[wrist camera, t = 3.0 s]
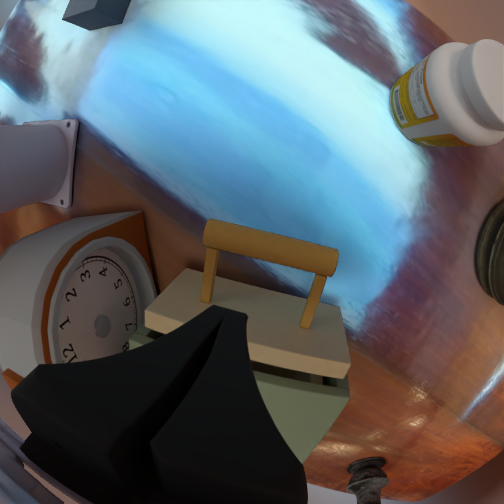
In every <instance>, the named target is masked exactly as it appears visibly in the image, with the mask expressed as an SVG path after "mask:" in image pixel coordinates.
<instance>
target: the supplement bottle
mask: <svg viewBox="0 0 504 504" xmlns="http://www.w3.org/2000/svg"><path fill="white" fill-rule="evenodd" d="M389 103H390V110H391V114H392V117H393V119H394V121H395V123H396V125H397V127H398V128H399V129H400V131H401V132H402V133H403V134H404V135H405V136H406V137H407V138H409V139H410V140H411V141H413V142H415V143H417V144H419V145H422V146H426V147H451V146H490V145H494V144H496V143H498V142H500V141H501V140H502V139H503V138H504V45H502V44H500V43H499V42H496V41H494V40H490V39H483V40H480V41H478V42H476V43H474V44H471V45H468V44H464V43H460V42H452V43H447V44H444V45H442V46H440V47H439V48H437V49H436V50H434V51H433V52H432V53H431V54H429V55H428V56H427V57H425V58H424V59H423V60H422V61H420V62H419V63H418V64H416V65H415V66H414V67H413V68H411V69H410V70H409V71H407V72H406V73H405V74H403V75H402V76H401V77H400V78H399V79H398V80H397V81H396V82H395V83H394V85H393V87H392V89H391V92H390V102H389Z"/></svg>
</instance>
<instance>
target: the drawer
mask: <svg viewBox="0 0 504 504" xmlns="http://www.w3.org/2000/svg"><path fill="white" fill-rule="evenodd" d="M203 244H204V245H205V246H208V247H207V252H206V259H205V266H204V273H203V272H199V271H196V270H192V269H189V268H186V269H185V270H184V271H183V272H182V273H181V274H180V275H179V276H178V277H177V278H176V279H175V280H174V281H173V282H172V283H171V284H170V285H169V286H168V287H167V288H166V289H165V290H164V291H163V292H162V293H161V294H160V295H159V296H158V297H157V298H156V299H155V300H154V301H153V302H152V303H151V304H150V305H149V306H148V307H147V308H146V309H145V327H147V328H150V329H152V330H155V331H158V332H161V333H164V334H167V333H169V332H171V331H173V330H175V329H176V328H178V327H180V326H181V325H183V324H184V323H186V322H188V321H189V320H191V319H192V318H194V317H195V316H197V315H198V314H200V313H201V312H203V311H204V310H206V309H207V308H208V307H210V306H212V305H213V304H214V305H217V306H221V307H224V308H228V309H232V310H235V311H239V312H243V313H246V314H247V315H248V321H247V343H248V350H249V356H250V361H251V365H252V369H253V370H254V371H258V372H262V373H267V374H271V375H275V376H280V377H284V378H289V379H294V380H299V381H304V382H309V383H314V384H320V385H323V379H322V376H327V377H333V378H339V379H343V378H344V377H345V375H346V373H347V371H348V369H349V368H350V366H351V360H350V354H349V349H348V344H347V339H346V334H345V329H344V324H343V319H342V314H341V310H340V307H339V306H334V305H330V304H326V303H321V302H319V300H320V297H321V294H322V291H323V288H324V285H325V282H326V279H327V276H329V277H332V276H333V274H334V272H335V270H336V267H337V263H338V257H339V252H338V250H337V249H334V248H330V247H326V246H322V245H319V244H315V243H311V242H307V241H303V240H299V239H295V238H291V237H287V236H283V235H279V234H275V233H270V232H266V231H262V230H258V229H254V228H250V227H246V226H241V225H237V224H233V223H229V222H224V221H220V220H216V219H209V220H208V222H207V224H206V226H205V229H204V233H203ZM220 250H224V251H228V252H232V253H236V254H240V255H244V256H248V257H252V258H256V259H260V260H264V261H268V262H272V263H276V264H280V265H284V266H288V267H292V268H296V269H300V270H304V271H308V272H312V273H315V277H314V280H313V283H312V286H311V289H310V292H309V295H308V298H307V299H304V298H300V297H296V296H292V295H288V294H284V293H280V292H276V291H272V290H268V289H264V288H260V287H256V286H252V285H248V284H244V283H240V282H237V281H233V280H229V279H225V278H222V277H218V276H216V269H217V263H218V257H219V251H220Z"/></svg>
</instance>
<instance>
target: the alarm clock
mask: <svg viewBox="0 0 504 504" xmlns="http://www.w3.org/2000/svg"><path fill="white" fill-rule="evenodd" d="M156 298H157V292H156V287H155V282H154V277H153V272H152V267H151V262H150V256H149V250H148V245H147V238H146V232H145V225H144V219H143V212H142V211H131V212H121V213H111V214H102V215H93V216H84V217H76V218H72V219H69V220H67V221H64V222H61V223H59V224H56V225H53V226H51V227H48V228H45V229H43V230H40V231H38V232H35V233H33V234H30V235H28V236H26V237H23V238H21V239H20V240H18V241H17V242H15V243H14V244H12V245H11V246H9V247H8V248H7V249H6V250H5V251H4V253H3V254H2V255H1V256H0V368H1V370H2V372H3V373H2V375H3V376H4V378H5V380H6V382H7V383H8V385H9V387H10V388H11V390H13V389H14V388H15V387H16V386H17V385H18V384H19V383H20V382H21V381H22V380H23V379H24V378H25V377H26V376H27V375H28V374H29V373H30V372H31V371H32V370H33V369H34V368H36V367H37V366H38V365H39V364H57V363H72V362H80V361H87V360H93V359H98V358H103V357H107V356H111V355H114V354H118V353H121V352H125V351H128V350H129V338H130V337H131V336H132V335H133V334H134V333H135V331H136V330H137V329H138V328H139V327H140V325H141V324H142V323H143V322H144V321H145V309H146V308H147V307H148V306H149V305H150V304H151V303H152V302H153V301H154V300H155V299H156Z"/></svg>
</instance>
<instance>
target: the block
mask: <svg viewBox="0 0 504 504" xmlns="http://www.w3.org/2000/svg"><path fill="white" fill-rule="evenodd" d="M130 1H131V0H70V1H69V4H68V6H67V8H66V11H65V13H64V15H63V18H62V20H64V21H67V22H70V23H72V24H75V25H77V26H80V27H82V28H85V29H87V30H89V31H90V30H94V29H98V28H102V27H106V26H111V25H116V24H121V23H122V21H123V19H124V16H125V13H126V11H127V8H128V6H129V3H130Z"/></svg>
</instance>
